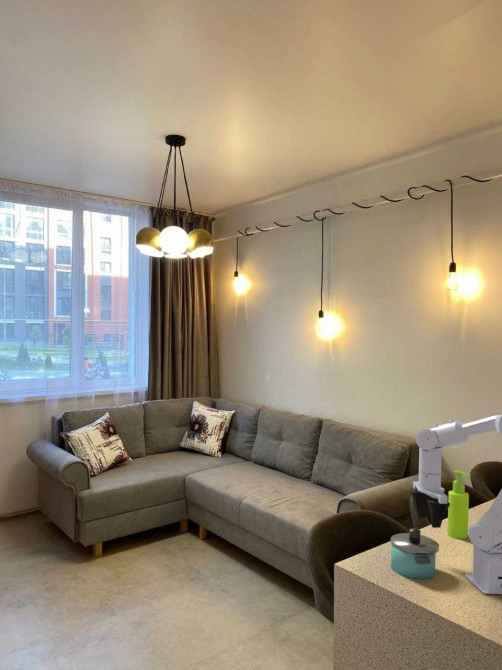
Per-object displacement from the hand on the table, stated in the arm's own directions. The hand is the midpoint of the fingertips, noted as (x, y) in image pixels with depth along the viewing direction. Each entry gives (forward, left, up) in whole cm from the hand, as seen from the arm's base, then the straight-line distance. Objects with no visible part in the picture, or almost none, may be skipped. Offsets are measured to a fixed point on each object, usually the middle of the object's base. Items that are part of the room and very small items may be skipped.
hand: (428, 522), depth 137 cm
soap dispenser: (+19, -18, -11) cm, 28 cm away
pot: (-5, +6, -10) cm, 13 cm away
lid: (-5, +6, -4) cm, 9 cm away
